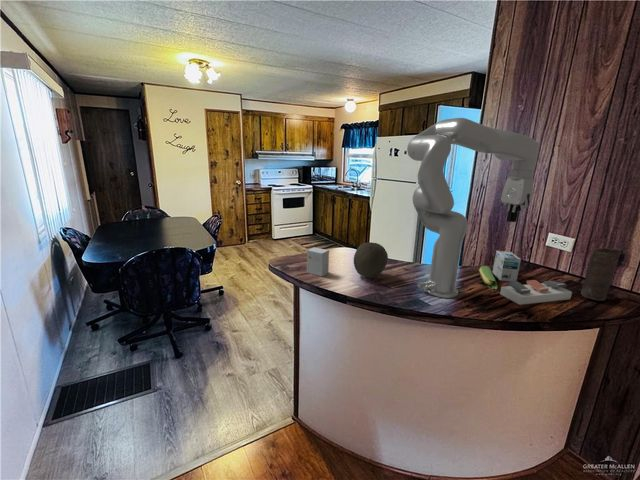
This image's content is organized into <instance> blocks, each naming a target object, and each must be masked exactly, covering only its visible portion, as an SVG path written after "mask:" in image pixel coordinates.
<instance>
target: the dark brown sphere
mask: <svg viewBox="0 0 640 480" xmlns="http://www.w3.org/2000/svg"><path fill="white" fill-rule="evenodd" d="M388 259H389V256H388V252H387V250H386V249H385V247H384V246H383V245H382V244H379V243H377V242H372V241H371V242H370V241H369V242H363V243H361V244H360V245H359V246H358V247H357V249H356V251H355V253H354V255H353V266H354V269H355V270H356V273H357V274H358V275H359V276H361V277H363V278H366V279H370V280H371V279H374V278H376V277H378V276H379V275H381V274H382V272H383V271H384V270H385V268H386V267H387V263H388Z"/></svg>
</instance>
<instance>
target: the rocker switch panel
mask: <svg viewBox="0 0 640 480" xmlns="http://www.w3.org/2000/svg"><path fill="white" fill-rule="evenodd" d="M540 283H541V282H540ZM541 284H542V285H544V286H545V287H547V288H548V289H549V290H548V291H544V292H539V291H537V290H536V289H534V288H533V287H532V286H530V285H529V284H523V285H524V286H525V287H526V288H528V289H529V290H531V291H530V293H522V294H521V293H520V292H518V291H517V290H515V289H514V288H513V287H511V286H510V285H508V286H501V287H500V292H499V295H501V296H503V297H504V298H507V299H508V300H510V301H512V302H514V303H516V304H517V305H519V306H520V305H529V304H537V303H538V304H539V303H546V302H556V301H557V302H559V301H568V300H571V297H572V295H573V291H571V290H569V289H567V288H565V287H561V288H557V287H553V286H549V285H545V284H543V282H542V283H541Z"/></svg>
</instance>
